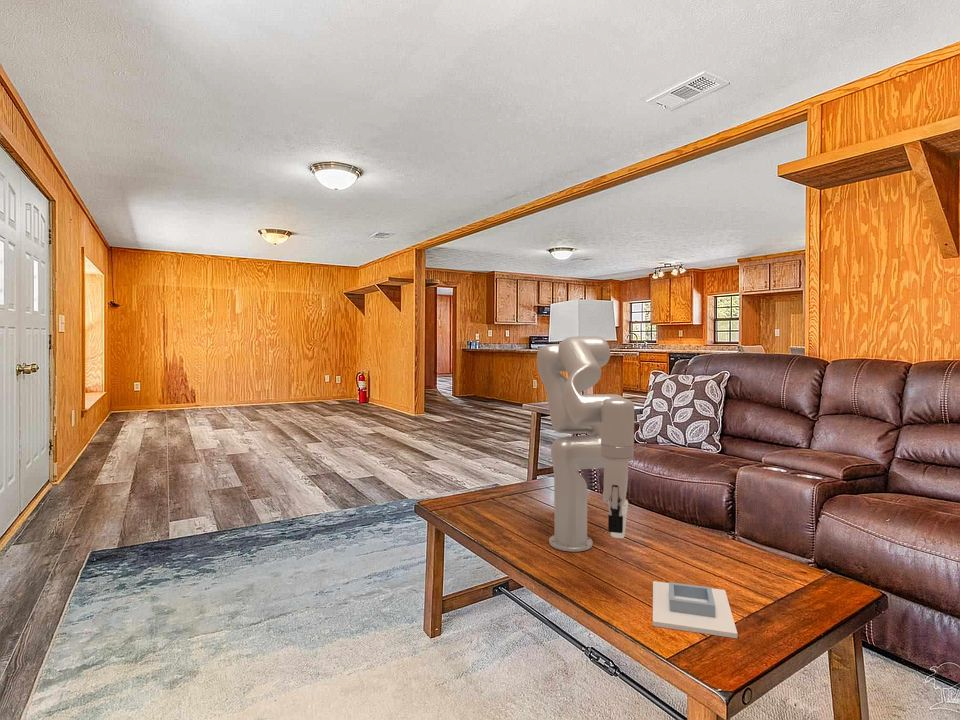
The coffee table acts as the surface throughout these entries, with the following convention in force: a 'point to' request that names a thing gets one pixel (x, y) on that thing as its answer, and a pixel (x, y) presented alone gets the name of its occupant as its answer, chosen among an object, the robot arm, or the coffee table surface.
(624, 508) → the milkshake
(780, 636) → the coffee table surface
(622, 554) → the coffee table surface
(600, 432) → the robot arm
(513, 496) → the coffee table surface
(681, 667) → the coffee table surface
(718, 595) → the dock
